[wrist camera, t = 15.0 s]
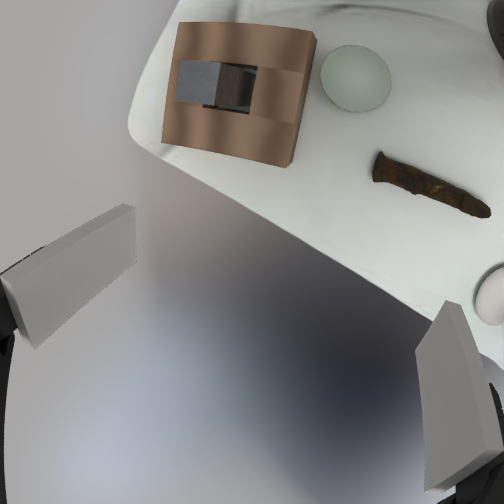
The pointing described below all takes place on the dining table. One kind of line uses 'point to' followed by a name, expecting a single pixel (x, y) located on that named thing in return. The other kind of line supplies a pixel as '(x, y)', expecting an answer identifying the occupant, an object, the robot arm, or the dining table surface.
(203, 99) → the square bar
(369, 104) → the round stub
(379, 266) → the dining table surface
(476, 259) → the dining table surface
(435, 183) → the hand tool
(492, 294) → the flower in vase
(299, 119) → the socket block
